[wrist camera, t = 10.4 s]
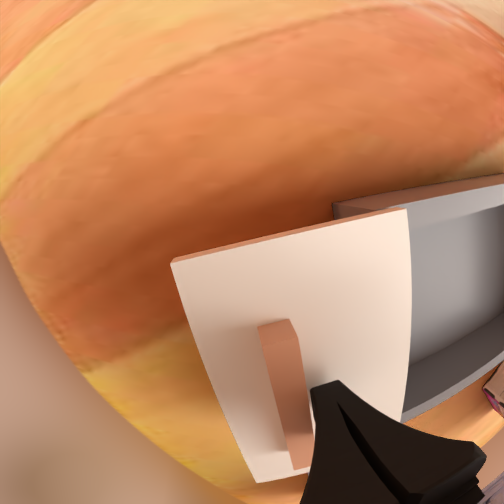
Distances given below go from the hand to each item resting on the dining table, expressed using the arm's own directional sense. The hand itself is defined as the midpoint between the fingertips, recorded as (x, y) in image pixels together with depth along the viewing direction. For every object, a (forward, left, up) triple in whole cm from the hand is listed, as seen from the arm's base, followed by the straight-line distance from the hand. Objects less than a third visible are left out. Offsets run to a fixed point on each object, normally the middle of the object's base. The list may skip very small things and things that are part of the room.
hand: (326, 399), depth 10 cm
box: (+13, 0, -7) cm, 14 cm away
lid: (0, 0, -1) cm, 1 cm away
